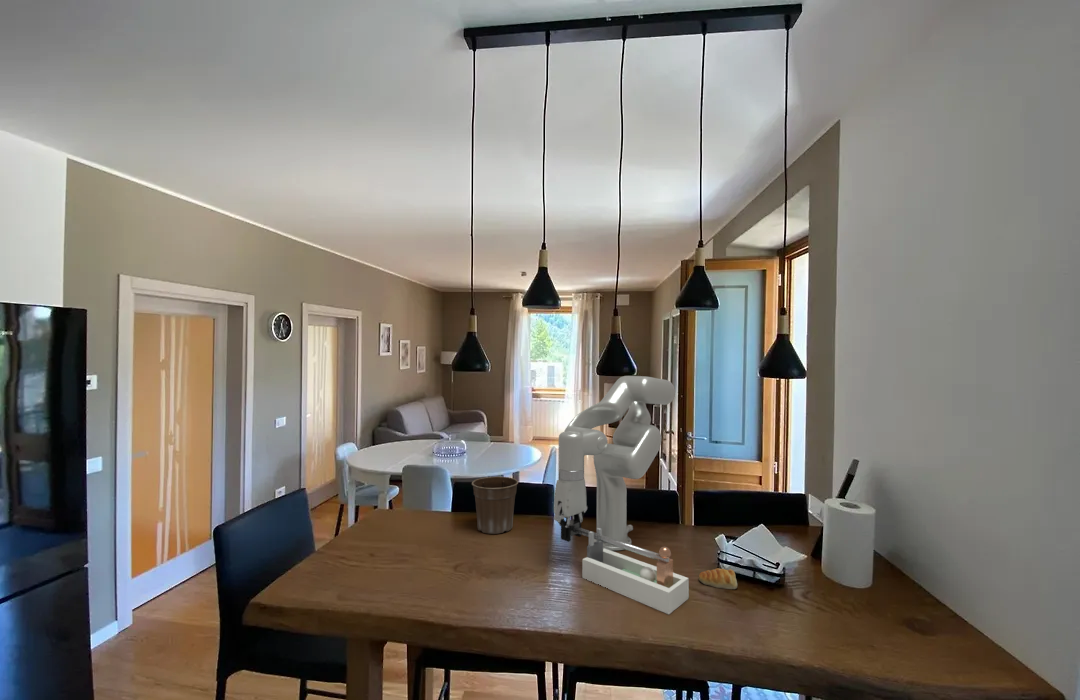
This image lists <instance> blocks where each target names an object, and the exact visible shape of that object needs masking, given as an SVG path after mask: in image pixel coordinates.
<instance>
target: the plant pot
mask: <svg viewBox="0 0 1080 700" xmlns="http://www.w3.org/2000/svg"><path fill="white" fill-rule="evenodd" d="M518 484H519V480H517V479H516V478H513V477H508V476H485V477H479V478H477V479H475V480H472V482H471V486H472V489H473V495H474V500H475V510H476V511H475V512H476V521H477V522H476V524H477V525H476V526H477V527H476V528H477V531H479V532H482V533H483V534H488V535H496V534H503V533H504V532H509V531H511V530H512V529H513V524H514V523H513V522H514V510H515V499H516V494H517V487H518Z"/></svg>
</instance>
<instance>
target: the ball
mask: <svg viewBox="0 0 1080 700" xmlns="http://www.w3.org/2000/svg"><path fill="white" fill-rule="evenodd" d="M640 577H641V578H644V579H646V580H649V581H652V582H654V581H655V579H656V574H655V572H654V570H653V569H652V568H650V567H644V568H642V569H641V571H640Z"/></svg>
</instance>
